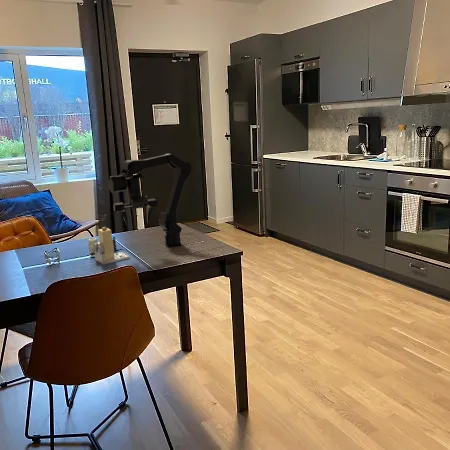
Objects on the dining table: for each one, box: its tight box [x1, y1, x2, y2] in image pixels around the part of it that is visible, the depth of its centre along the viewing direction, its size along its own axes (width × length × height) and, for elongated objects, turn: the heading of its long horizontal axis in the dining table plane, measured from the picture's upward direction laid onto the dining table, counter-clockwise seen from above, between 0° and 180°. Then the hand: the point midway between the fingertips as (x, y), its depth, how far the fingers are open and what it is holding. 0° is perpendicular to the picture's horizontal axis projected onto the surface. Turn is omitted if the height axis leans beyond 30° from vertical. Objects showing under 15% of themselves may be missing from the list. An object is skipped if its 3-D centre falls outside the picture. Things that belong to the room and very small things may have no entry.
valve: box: [88, 235, 117, 252], centre depth 218 cm, size 7×7×12 cm
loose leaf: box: [97, 226, 115, 260], centre depth 203 cm, size 4×5×14 cm
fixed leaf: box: [93, 242, 130, 266], centre depth 204 cm, size 12×9×8 cm
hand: (137, 224), depth 210 cm, fingers open, 9 cm apart
